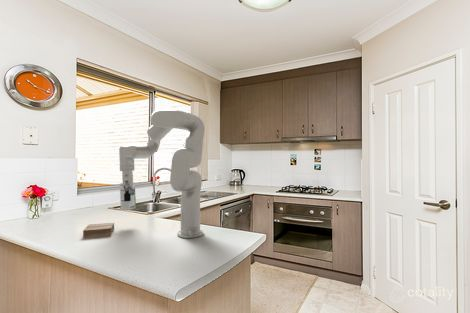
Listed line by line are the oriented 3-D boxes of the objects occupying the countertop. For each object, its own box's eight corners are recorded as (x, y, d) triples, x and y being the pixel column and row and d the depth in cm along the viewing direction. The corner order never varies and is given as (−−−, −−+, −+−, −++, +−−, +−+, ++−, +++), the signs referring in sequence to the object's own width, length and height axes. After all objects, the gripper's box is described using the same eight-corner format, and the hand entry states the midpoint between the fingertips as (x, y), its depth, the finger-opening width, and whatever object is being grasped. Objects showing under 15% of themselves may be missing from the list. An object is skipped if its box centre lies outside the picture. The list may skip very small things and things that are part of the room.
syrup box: (130, 209, 140) (129, 182, 140) (120, 209, 141) (119, 183, 141) (136, 207, 145) (135, 182, 146) (126, 207, 146) (125, 182, 147)
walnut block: (111, 236, 126) (111, 228, 126) (83, 239, 123) (83, 230, 123) (114, 230, 138) (114, 222, 138) (88, 232, 134) (88, 224, 134)
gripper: (133, 168, 137) (134, 201, 136) (135, 167, 153) (136, 197, 153) (118, 168, 134) (118, 202, 134) (121, 168, 151) (122, 198, 150)
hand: (128, 199), depth 143 cm, fingers closed on syrup box, 7 cm apart
